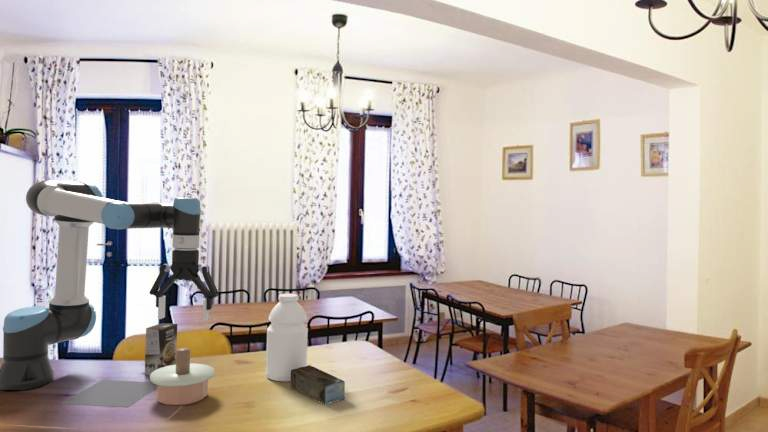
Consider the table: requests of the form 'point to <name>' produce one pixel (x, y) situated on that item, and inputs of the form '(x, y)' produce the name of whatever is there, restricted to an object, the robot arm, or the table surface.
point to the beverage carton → (317, 384)
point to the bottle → (286, 338)
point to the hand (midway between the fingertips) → (183, 319)
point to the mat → (112, 393)
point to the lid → (182, 372)
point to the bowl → (182, 394)
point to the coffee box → (160, 346)
